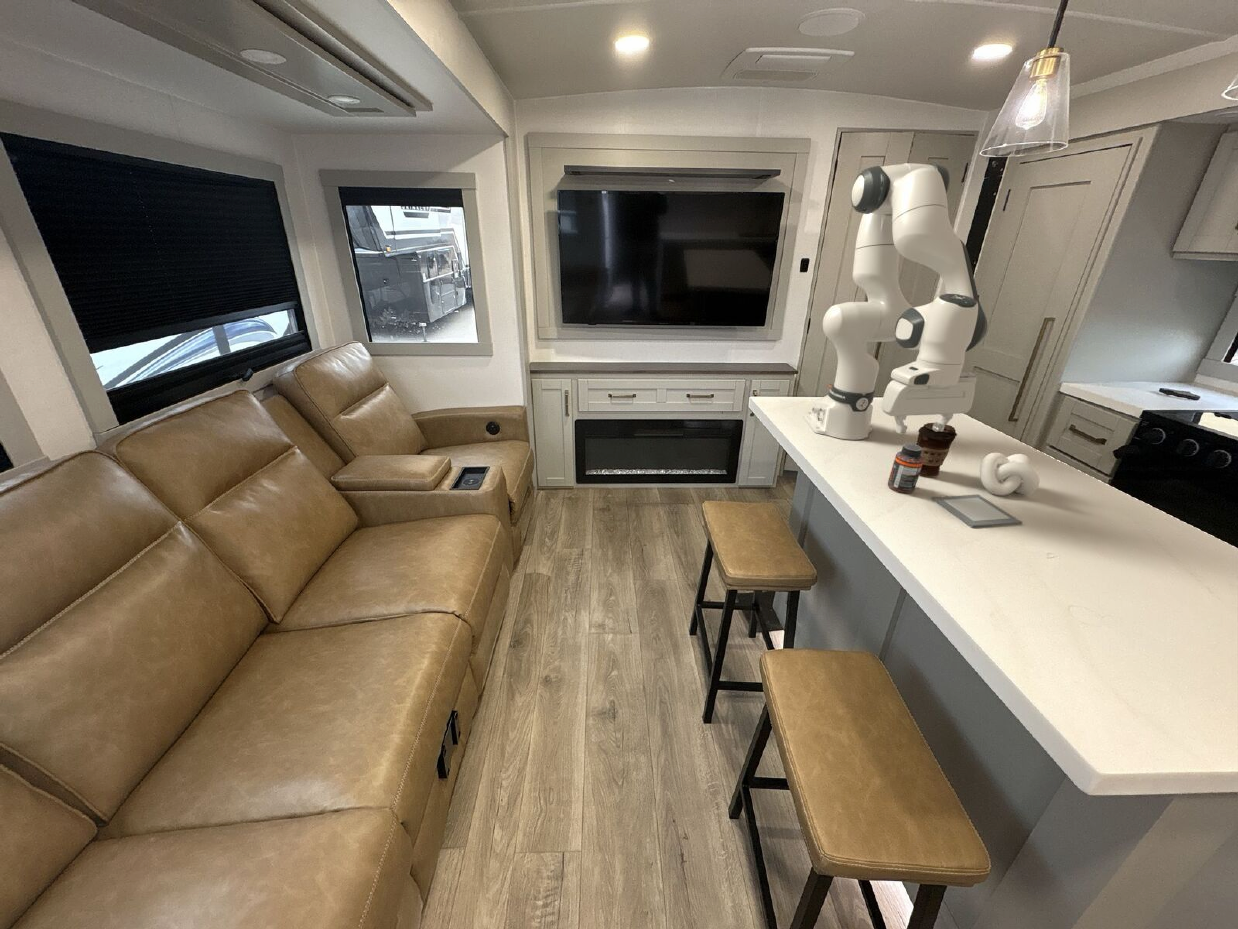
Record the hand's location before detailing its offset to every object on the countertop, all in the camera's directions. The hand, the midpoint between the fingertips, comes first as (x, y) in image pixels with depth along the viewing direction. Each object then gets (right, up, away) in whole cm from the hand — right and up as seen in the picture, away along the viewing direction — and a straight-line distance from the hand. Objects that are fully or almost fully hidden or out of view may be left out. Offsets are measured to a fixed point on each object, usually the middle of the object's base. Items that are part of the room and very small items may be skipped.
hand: (918, 431), depth 112 cm
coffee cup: (+11, -10, +15) cm, 21 cm away
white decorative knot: (+25, -14, +8) cm, 30 cm away
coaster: (+11, -18, -2) cm, 22 cm away
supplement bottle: (0, -14, +7) cm, 16 cm away
